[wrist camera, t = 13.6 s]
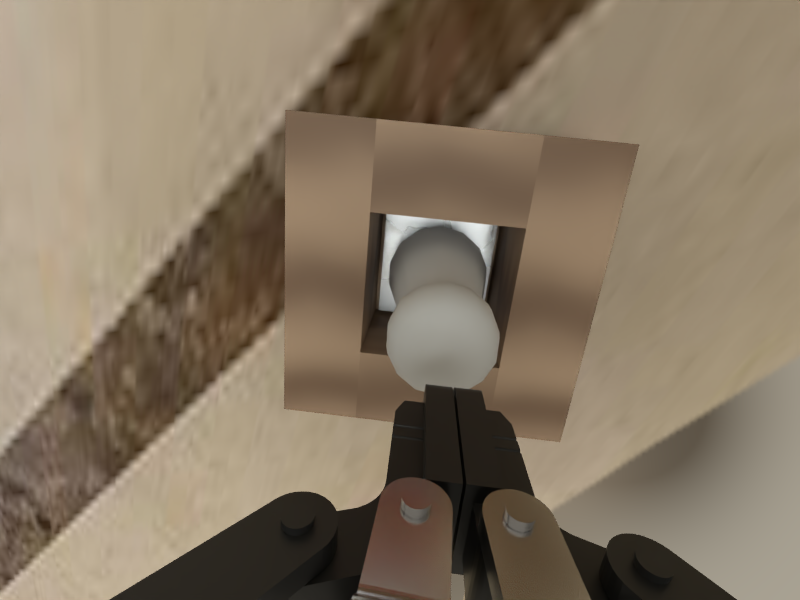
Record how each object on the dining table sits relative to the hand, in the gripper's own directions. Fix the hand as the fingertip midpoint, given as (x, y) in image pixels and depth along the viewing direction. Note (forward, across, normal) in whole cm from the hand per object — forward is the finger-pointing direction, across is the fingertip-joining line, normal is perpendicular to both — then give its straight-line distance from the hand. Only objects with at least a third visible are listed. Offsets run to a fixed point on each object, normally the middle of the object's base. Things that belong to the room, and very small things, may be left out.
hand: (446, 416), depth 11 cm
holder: (+19, 0, 0) cm, 19 cm away
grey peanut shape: (+17, 0, 0) cm, 17 cm away
